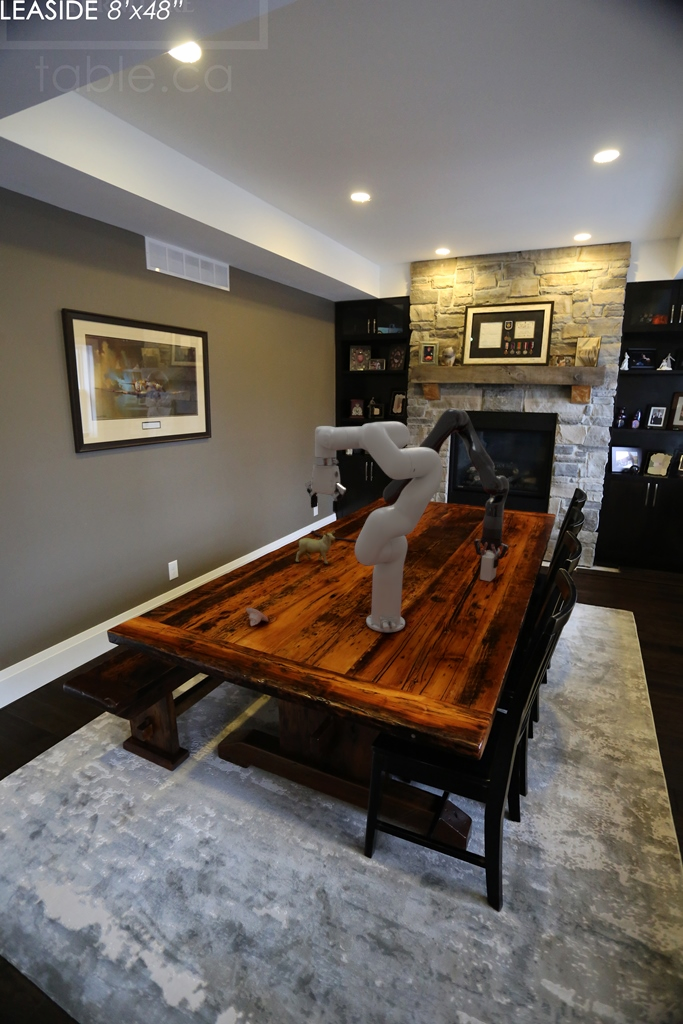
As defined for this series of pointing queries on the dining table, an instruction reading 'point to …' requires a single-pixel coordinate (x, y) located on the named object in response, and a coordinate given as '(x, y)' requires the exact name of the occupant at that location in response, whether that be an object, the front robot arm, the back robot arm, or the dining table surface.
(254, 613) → the seashell
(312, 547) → the toy
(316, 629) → the dining table surface
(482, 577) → the brick
